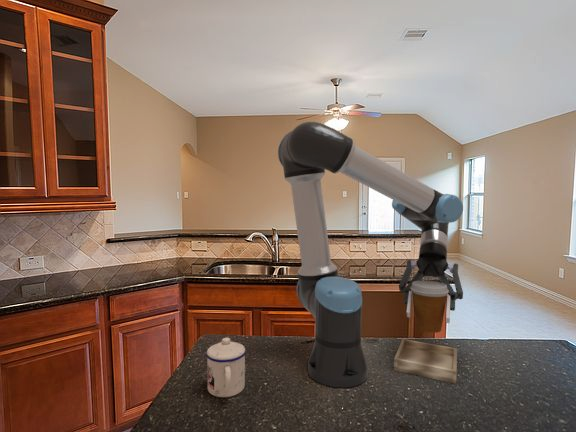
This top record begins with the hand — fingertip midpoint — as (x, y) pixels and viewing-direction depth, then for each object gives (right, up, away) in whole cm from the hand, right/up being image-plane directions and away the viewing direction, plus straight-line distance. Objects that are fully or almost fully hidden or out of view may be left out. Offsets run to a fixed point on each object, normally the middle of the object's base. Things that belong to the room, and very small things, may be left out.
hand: (427, 317), depth 88 cm
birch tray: (+1, -14, +3) cm, 14 cm away
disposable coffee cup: (+1, -4, +3) cm, 5 cm away
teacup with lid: (-50, -14, -10) cm, 53 cm away
